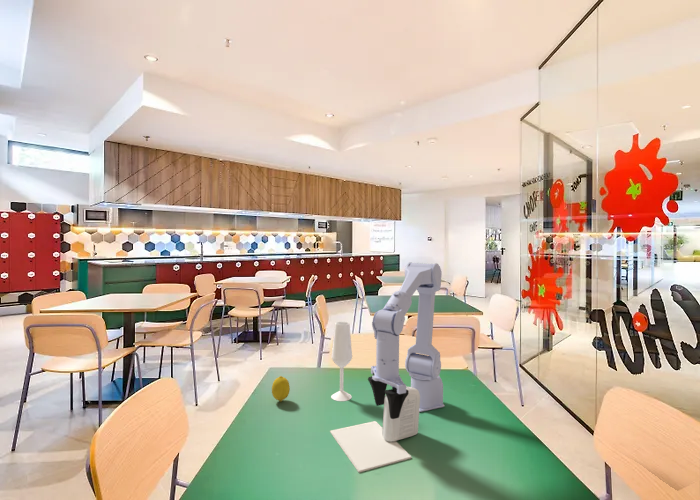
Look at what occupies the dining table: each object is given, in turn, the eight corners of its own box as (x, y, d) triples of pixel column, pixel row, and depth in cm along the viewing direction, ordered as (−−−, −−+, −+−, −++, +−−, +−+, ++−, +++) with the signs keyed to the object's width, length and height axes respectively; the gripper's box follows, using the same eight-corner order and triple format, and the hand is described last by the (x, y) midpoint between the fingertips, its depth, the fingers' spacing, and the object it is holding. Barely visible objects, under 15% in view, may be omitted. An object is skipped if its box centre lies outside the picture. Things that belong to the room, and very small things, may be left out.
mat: (375, 422, 99) (375, 420, 99) (411, 458, 83) (411, 456, 83) (330, 432, 94) (330, 430, 94) (358, 472, 78) (358, 470, 78)
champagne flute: (353, 393, 119) (354, 321, 118) (349, 402, 112) (350, 326, 111) (333, 391, 120) (334, 320, 119) (329, 400, 113) (329, 325, 113)
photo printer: (409, 427, 97) (411, 381, 97) (420, 434, 93) (423, 387, 93) (379, 436, 91) (382, 388, 91) (390, 444, 88) (393, 394, 88)
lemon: (268, 403, 110) (268, 378, 110) (278, 396, 116) (278, 372, 115) (283, 406, 108) (283, 380, 108) (292, 399, 113) (293, 374, 113)
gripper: (361, 351, 95) (360, 401, 95) (388, 369, 82) (387, 427, 82) (384, 348, 98) (383, 397, 98) (413, 365, 85) (413, 421, 85)
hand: (387, 411), depth 90 cm, fingers open, 7 cm apart
